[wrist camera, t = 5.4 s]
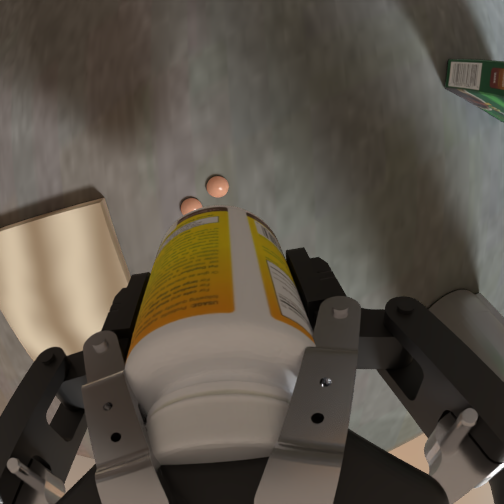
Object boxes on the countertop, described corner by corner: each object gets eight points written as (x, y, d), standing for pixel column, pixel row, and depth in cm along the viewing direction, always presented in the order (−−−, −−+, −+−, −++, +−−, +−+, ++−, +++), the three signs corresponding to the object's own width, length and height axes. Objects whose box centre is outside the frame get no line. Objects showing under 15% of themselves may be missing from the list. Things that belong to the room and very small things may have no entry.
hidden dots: (226, 174, 20) (226, 174, 20) (235, 226, 22) (235, 226, 22) (175, 183, 20) (175, 184, 20) (187, 234, 22) (187, 235, 21)
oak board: (104, 197, 20) (99, 202, 19) (160, 348, 26) (159, 357, 25) (-26, 237, 19) (-32, 242, 18) (39, 358, 26) (36, 364, 25)
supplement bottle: (148, 288, 15) (102, 490, 6) (180, 182, 13) (109, 387, 4) (252, 317, 17) (284, 510, 8) (300, 225, 14) (404, 424, 5)
